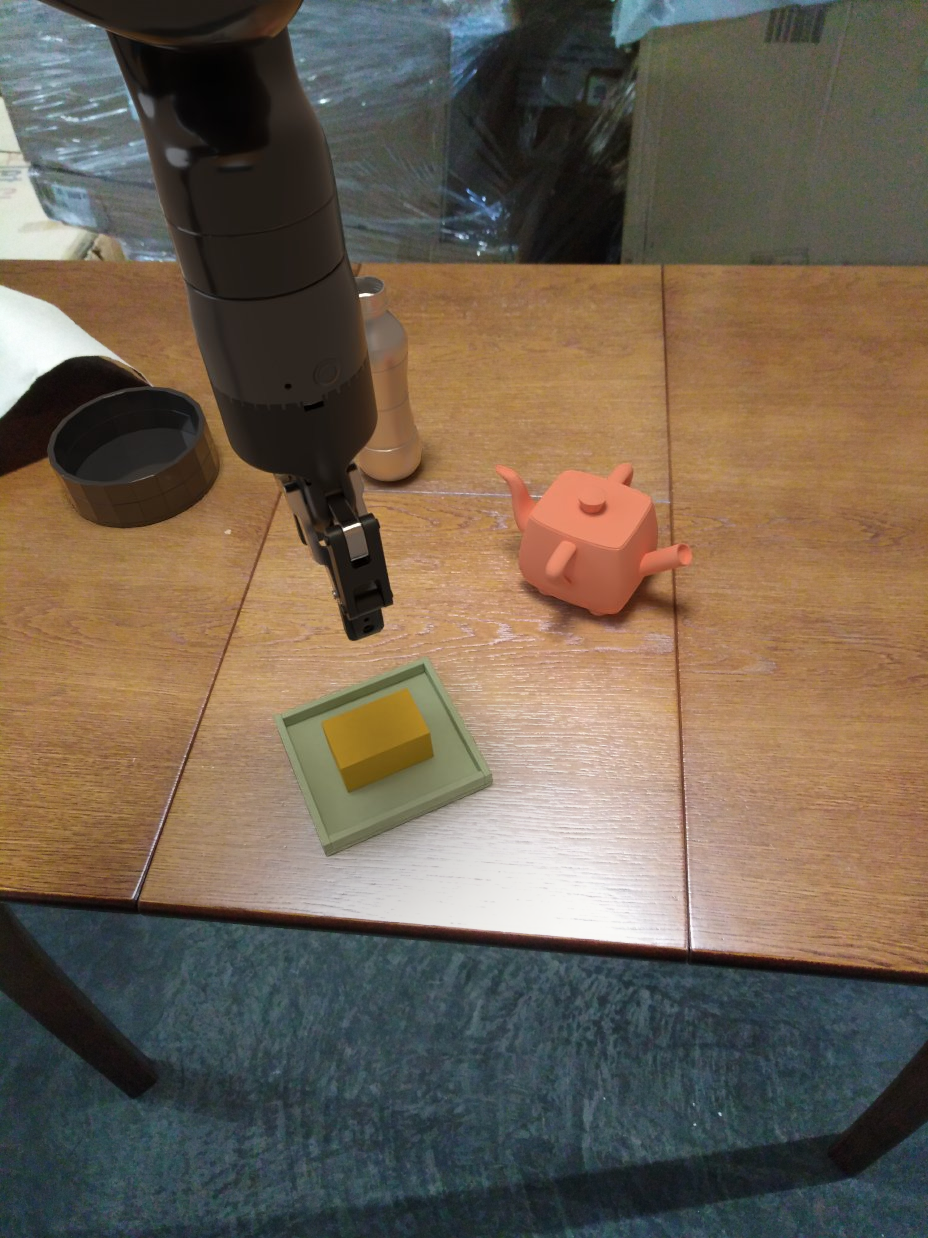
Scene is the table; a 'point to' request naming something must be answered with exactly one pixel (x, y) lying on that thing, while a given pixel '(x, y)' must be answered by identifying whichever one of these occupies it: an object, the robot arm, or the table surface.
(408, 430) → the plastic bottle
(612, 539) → the teapot
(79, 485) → the bowl
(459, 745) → the tray
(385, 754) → the sponge
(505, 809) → the table surface
